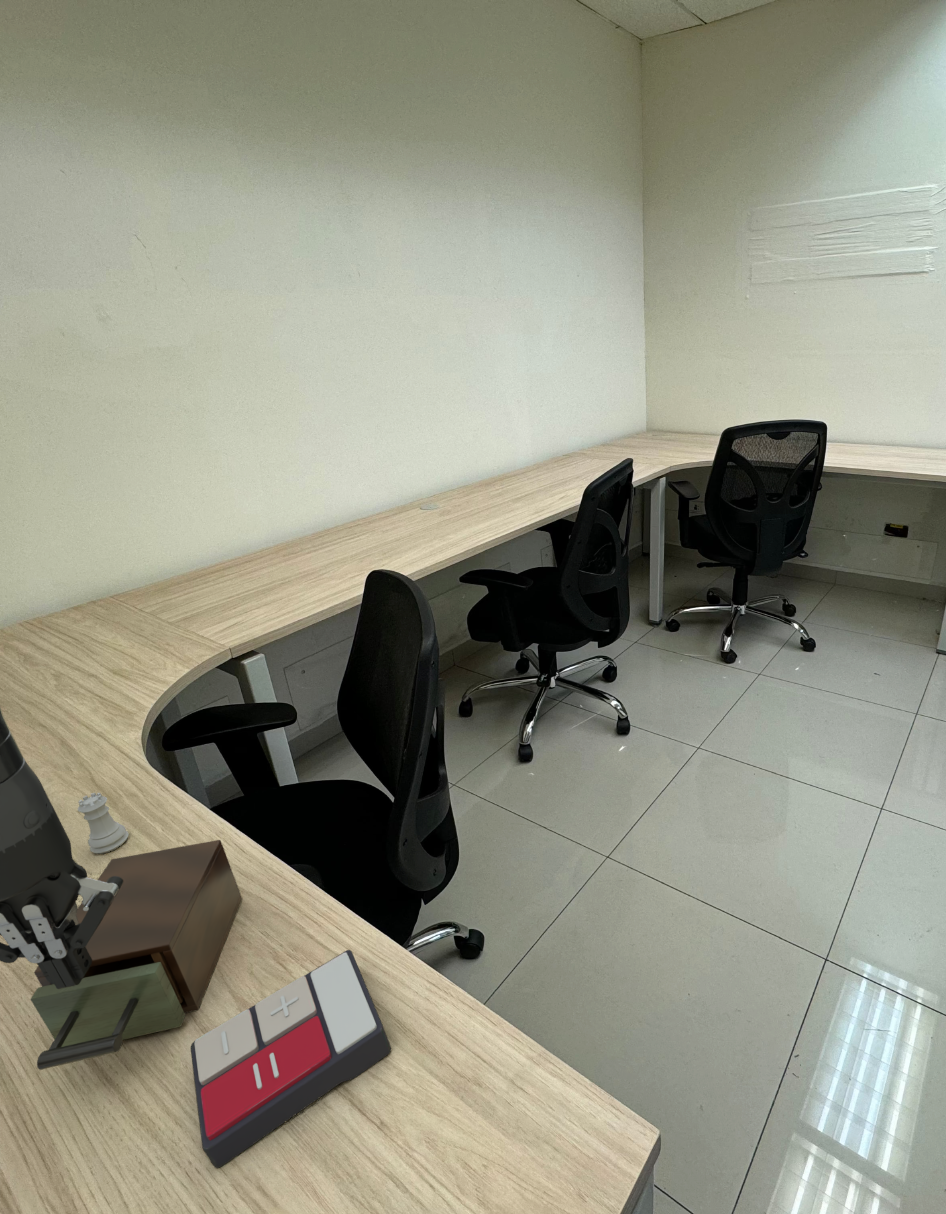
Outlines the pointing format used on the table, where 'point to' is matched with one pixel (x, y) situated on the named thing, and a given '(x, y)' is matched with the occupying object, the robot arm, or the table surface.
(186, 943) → the cabinet
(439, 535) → the table surface
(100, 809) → the rook chess piece
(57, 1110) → the table surface
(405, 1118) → the table surface
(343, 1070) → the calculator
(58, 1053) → the drawer
